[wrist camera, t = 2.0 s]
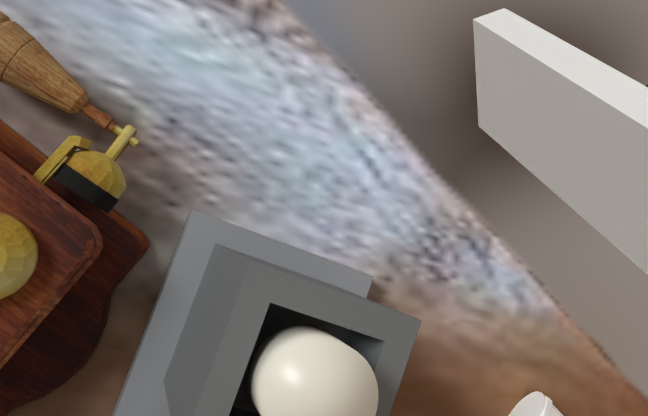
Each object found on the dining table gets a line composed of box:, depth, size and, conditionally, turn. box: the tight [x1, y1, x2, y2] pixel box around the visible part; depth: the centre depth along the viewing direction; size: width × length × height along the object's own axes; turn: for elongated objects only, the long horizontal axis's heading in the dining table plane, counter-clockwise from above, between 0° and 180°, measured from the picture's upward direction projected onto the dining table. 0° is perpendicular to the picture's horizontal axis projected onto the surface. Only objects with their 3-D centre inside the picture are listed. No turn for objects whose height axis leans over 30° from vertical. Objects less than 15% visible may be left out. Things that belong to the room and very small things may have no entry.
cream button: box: [247, 324, 378, 416], centre depth 28 cm, size 5×5×4 cm
